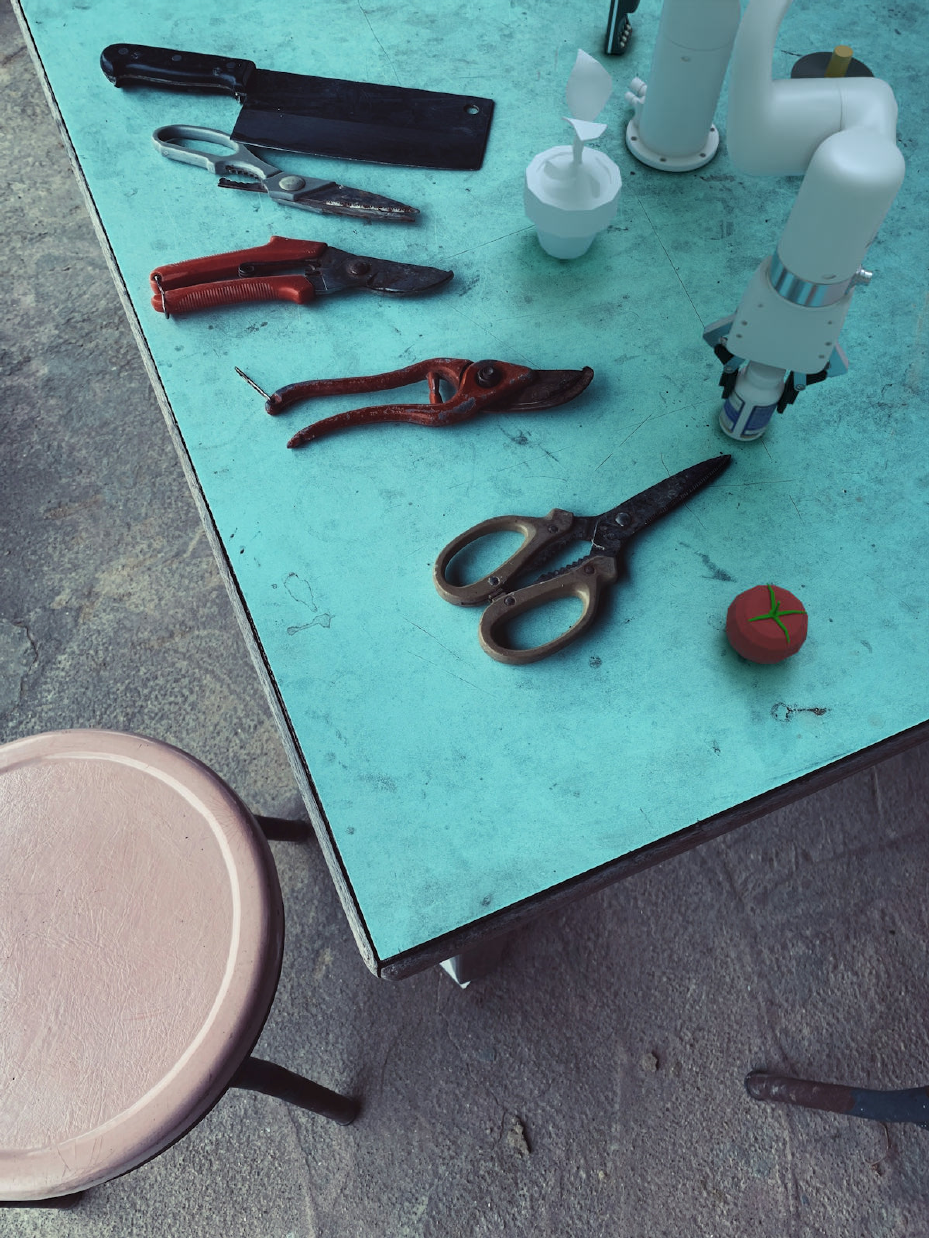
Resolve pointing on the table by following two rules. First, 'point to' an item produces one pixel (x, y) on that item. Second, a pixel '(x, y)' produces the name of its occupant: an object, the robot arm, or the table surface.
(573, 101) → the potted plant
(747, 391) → the pill bottle
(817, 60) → the pot lid
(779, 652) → the tomato
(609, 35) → the battery charger
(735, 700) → the table surface
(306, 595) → the table surface
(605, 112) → the table surface
